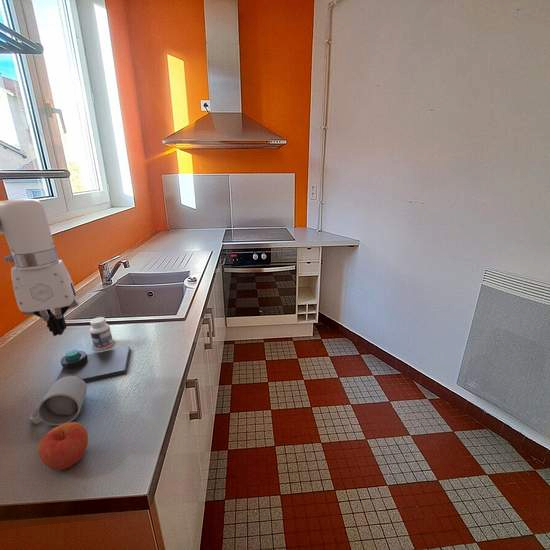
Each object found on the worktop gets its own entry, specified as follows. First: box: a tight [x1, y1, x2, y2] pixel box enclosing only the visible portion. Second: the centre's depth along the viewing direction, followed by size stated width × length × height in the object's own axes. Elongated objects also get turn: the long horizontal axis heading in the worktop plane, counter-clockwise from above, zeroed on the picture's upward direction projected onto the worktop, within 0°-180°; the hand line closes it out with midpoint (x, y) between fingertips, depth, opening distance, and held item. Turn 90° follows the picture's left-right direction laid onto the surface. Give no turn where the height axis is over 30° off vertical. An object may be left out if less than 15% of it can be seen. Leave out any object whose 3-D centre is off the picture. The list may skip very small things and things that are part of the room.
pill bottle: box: [89, 316, 114, 351], centre depth 92 cm, size 5×5×9 cm
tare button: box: [65, 349, 80, 361], centre depth 82 cm, size 3×3×2 cm
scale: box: [55, 346, 131, 384], centre depth 82 cm, size 16×12×3 cm
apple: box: [38, 421, 89, 471], centre depth 55 cm, size 7×7×8 cm
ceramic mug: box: [29, 376, 88, 426], centre depth 66 cm, size 11×8×8 cm
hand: (59, 332), depth 71 cm, fingers closed
